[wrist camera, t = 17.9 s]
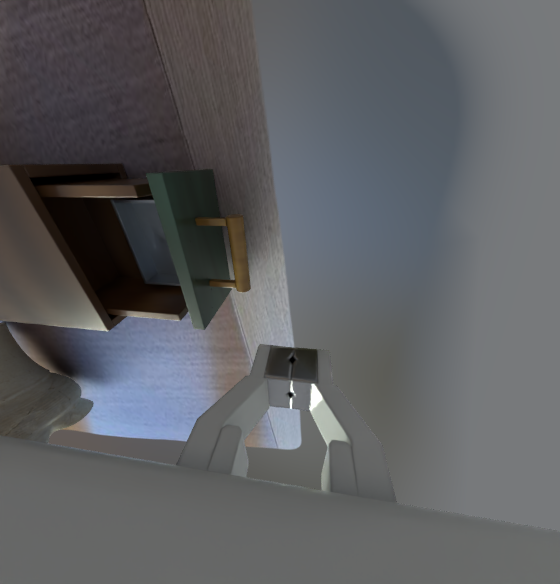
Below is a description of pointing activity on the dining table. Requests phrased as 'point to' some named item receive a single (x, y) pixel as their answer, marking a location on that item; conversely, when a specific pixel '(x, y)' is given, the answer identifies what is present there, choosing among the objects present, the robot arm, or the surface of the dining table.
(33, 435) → the vase
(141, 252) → the tray
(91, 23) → the dining table surface
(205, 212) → the drawer
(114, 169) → the cabinet
